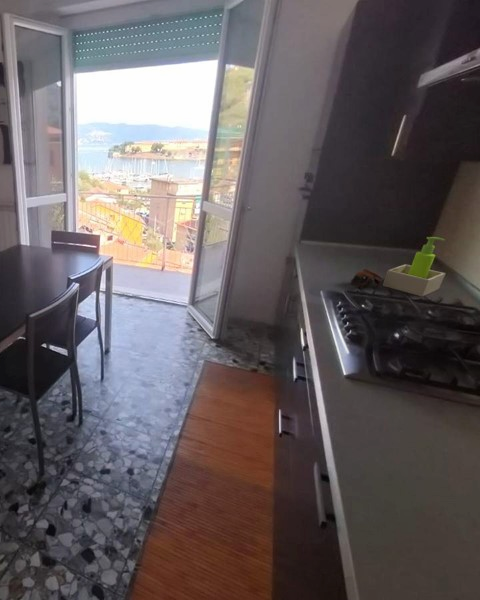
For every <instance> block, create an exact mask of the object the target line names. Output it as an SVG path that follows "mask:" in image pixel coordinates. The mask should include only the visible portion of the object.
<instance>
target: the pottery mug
mask: <svg viewBox="0 0 480 600" xmlns="http://www.w3.org/2000/svg"><path fill="white" fill-rule="evenodd" d="M382 279H383V277H381V276H380V275H379V274H377V273H376V272H374V271H372V270H370V269H367V268H364V269H363V270H360V271H358V272H356V273H355V275H354V276H353V278H352V279H350V282H349V284H350V285H352V286H353V287H355V288H357V289H359V288H360V286H361V287H363V288H364V289H365V288H366V289H367V288H369V287H370V286H371V285H372V284H373V283H375V284H376V285H375V288H376V289H377V288H379V286H380V285H381V280H382Z"/></svg>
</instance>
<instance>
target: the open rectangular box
mask: <svg viewBox="0 0 480 600" xmlns="http://www.w3.org/2000/svg"><path fill="white" fill-rule="evenodd" d="M411 265H412V264H411ZM411 265H410V264H405V263H404V264H402V265H399V266H396V267H393V268H390V269H388V270H387V272H386V274H385V277H384V280H383V283H382V286H383V287H386V288H388V289H389V288H390V289H394V290H397V291H400V292H404V293H408V294H412V295H415V296H419V297H424V296H427V295H428V294H430V293H434V292H435V291H438V290H439V289H440V287H441V285H442V283H443V280H444V279H445V276H446V272H443V271H442V272H441V271H436V270H433V269H430V270H429V272H428V275H427V277H426V279H424V278H420V277H416V276H412V275H408V273H409V270H410V268H411Z"/></svg>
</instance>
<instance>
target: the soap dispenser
mask: <svg viewBox="0 0 480 600" xmlns="http://www.w3.org/2000/svg"><path fill="white" fill-rule="evenodd" d="M426 239H427V243H425V244H423V246H422V248H421V251H416V253H415V255H414V258H413V260H412V263H411V268H410V270H409V273H408V275H412V276H416V277H420V278H424V279H426V277H427V275H428V272H429V270H431V267H432V266H433V262H434V260H435V257H436V254H434V253H433V252H434V250H435V248H436V247H435V245H434V242H435V241H442V242H445V241H446V239H445V238H442V237H436V236H427V237H426Z"/></svg>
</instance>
